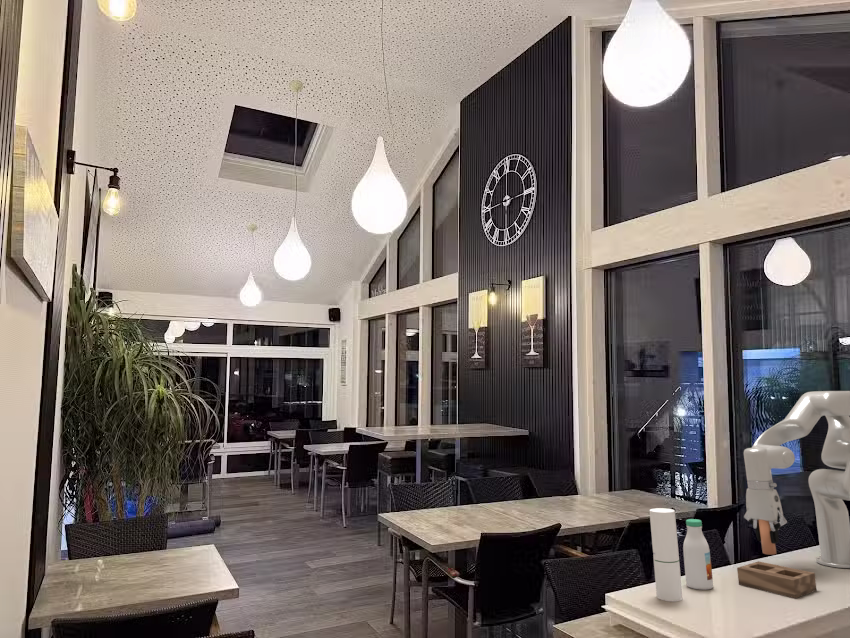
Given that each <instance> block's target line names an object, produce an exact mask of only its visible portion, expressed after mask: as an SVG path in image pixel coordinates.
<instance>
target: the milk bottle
mask: <svg viewBox="0 0 850 638" xmlns="http://www.w3.org/2000/svg"><path fill="white" fill-rule="evenodd" d="M702 523H703V522H702V520H701V519H696V518H695V519H694V518H689V519H686V520H685V524H686V525H685V526H686V535H685V538H684V541H683V545H682V546H683V547H682V549H683V550H682V551H683V563H684V574H685V575H684V577H685V582H686V586H687V587H688V588H691V589H695V590H702V591H703V590H704V591H705V590H706V591H707V590H712V589H713V587H714V581H713V580H714V579H713V567H712V561H711V559H712V558H711V552H710V551H711V550H710V546H709V544H708V542H707V539H706V537H705V536H704V532H703V531H702V529H703V524H702Z"/></svg>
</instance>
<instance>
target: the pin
mask: <svg viewBox="0 0 850 638" xmlns="http://www.w3.org/2000/svg"><path fill="white" fill-rule="evenodd" d="M758 521H759V529H760V536H761V541H760V543H761V550H762V554H764V555H770V556H772V555H777V547H776V543H775V544H773V543H771V537H770V531H771V527H770V524H769V521H765V520H762V519H761V520H758Z"/></svg>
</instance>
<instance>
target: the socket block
mask: <svg viewBox="0 0 850 638" xmlns="http://www.w3.org/2000/svg"><path fill="white" fill-rule="evenodd" d="M736 570H737V579H738V580H737V582H738V585H740V586H743V587H748V588H752V589H755V590H760V591H765V592H767V591H768V593H771V592H772V594H775V593H776V594H775V595H779V594H780V596H784V597H787V598H792V599H798V598H800V597H803V596H806V595H808V594H812V593H813V592H817V583H816V573H815V572H812V571H807V570H802V569H797V568H792V567H787V566H783V565H779V564H778V565H777V564H773V563H769V562H763V561H759V560H758V561H756V562H752V563H749V564H748V563H747V564H746V565H742V566H739V567H736Z"/></svg>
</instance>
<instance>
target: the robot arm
mask: <svg viewBox="0 0 850 638" xmlns="http://www.w3.org/2000/svg"><path fill="white" fill-rule="evenodd" d="M823 416H825V418H826V421H827V424H828V428H827V434H826V437H825V439H824V443H823V446H822V451H821V454H820V455H821V457H820V458H821V461H822V463H823V464H824V465H826V466H827V467H830V468H835V469H829V468H827V469H826V468H819V469H815V470H813V471H812V472H811V473H810V474H809V476H808V487H809V490H810V493H811V496H812V499H813V502H814V508H815V509H814V510H815V516H816V527H817V528H816V529H817V534H818V542H819V544H818V545H819V550H820V551H819V552H820V556H817V557H815V561H816V563H818V564H820V565H822V566H825V567H831V568H837V569H838V568H839V569H850V516H849V510H848V508H847V505H846V504H845V502H844V501H850V390H823V391H822V390H818V391H817V390H816V391H807V392H805V393H804V394H801V396H800V397H799V399H798V400H797V402H796V403H795V404H794V406H793V407H792V408H791V410H790V411H789V413H788V414H787V415H786V416H785V418H784V419H782V420H781V421H779V422H778V423H776V424H774V425H773V426H771V427H769V428H768V429H766V430H765V431H764V432H762V433H761V434H760V436H758V438H757V439H756V441H755V442H754V443H753V445H752V446H751V447H747V448H745V449H744V450H743V458H744V459H743V460H744V465H745V467H744V468H745V475H746V481H747V482H746V483H747V488H746V493H745V506H746V512H745V514H744V515H743V518H744V519H745V520H747V522H749V524H751V525H752V527H753V529H755V538H756V539H757V542H761V536H760V529H759V521H758V520H761V519H762V520H765V521H769V524H770V527H771V531H770V537H771V543H773V544H775V545H776V544H777V543H779V540H780V537H779V530H780V528H781V527H782V526H784V525H786V524H788V521H787V519H786V518H785V516H784V512H783V508H782V503H781V499H780V496H779V493H778V491H777V489H775V488H776V487H777V486H778V485H777V483H776V482H774V480H773V475H772V469H783V470H785V469H788V468H790V467H791V466H792V465H793V464H794V462H795V460H796V457H795V454H794V452H793V451H792V450H791V449H790V448H788V447H786V446H784V444H785V443H787V442H791V441H795V440H799V439H801V438H804V437H806V436H808V435H809V434H810V433H811V432H812V430H813V428H814V427H815V425H817V423H818V421H819V420H820V419H821V417H823ZM838 469H839V470H838ZM840 469H841V470H840ZM778 521H779V522H778Z"/></svg>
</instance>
